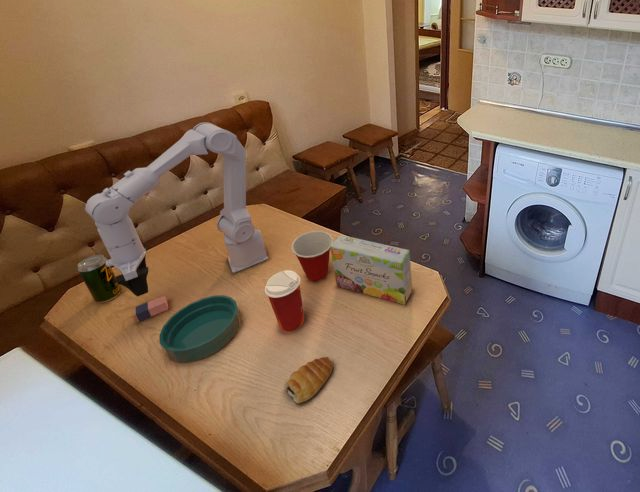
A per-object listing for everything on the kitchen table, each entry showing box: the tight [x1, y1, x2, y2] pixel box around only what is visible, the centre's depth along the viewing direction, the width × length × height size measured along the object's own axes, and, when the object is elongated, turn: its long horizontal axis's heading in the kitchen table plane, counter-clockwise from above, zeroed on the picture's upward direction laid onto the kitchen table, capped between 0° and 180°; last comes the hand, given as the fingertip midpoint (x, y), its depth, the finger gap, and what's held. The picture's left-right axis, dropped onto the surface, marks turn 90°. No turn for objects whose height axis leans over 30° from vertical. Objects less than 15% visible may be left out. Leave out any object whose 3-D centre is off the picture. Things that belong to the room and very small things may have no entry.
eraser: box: [134, 295, 169, 323], centre depth 91 cm, size 6×3×3 cm, turn 131°
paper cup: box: [264, 269, 305, 333], centre depth 87 cm, size 8×8×14 cm
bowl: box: [158, 294, 242, 364], centre depth 85 cm, size 15×15×4 cm
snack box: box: [330, 234, 413, 305], centre depth 97 cm, size 21×6×15 cm, turn 74°
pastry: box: [284, 356, 334, 404], centre depth 76 cm, size 9×7×4 cm
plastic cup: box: [290, 230, 334, 283], centre depth 102 cm, size 11×11×12 cm
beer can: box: [77, 254, 122, 304], centre depth 94 cm, size 5×5×12 cm
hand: (142, 284), depth 88 cm, fingers open, 7 cm apart
